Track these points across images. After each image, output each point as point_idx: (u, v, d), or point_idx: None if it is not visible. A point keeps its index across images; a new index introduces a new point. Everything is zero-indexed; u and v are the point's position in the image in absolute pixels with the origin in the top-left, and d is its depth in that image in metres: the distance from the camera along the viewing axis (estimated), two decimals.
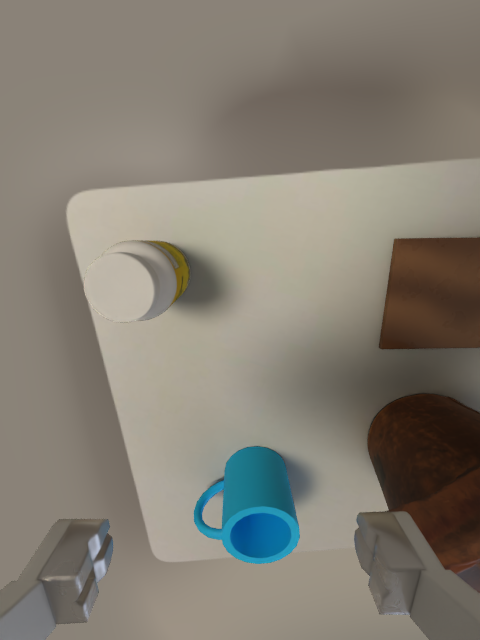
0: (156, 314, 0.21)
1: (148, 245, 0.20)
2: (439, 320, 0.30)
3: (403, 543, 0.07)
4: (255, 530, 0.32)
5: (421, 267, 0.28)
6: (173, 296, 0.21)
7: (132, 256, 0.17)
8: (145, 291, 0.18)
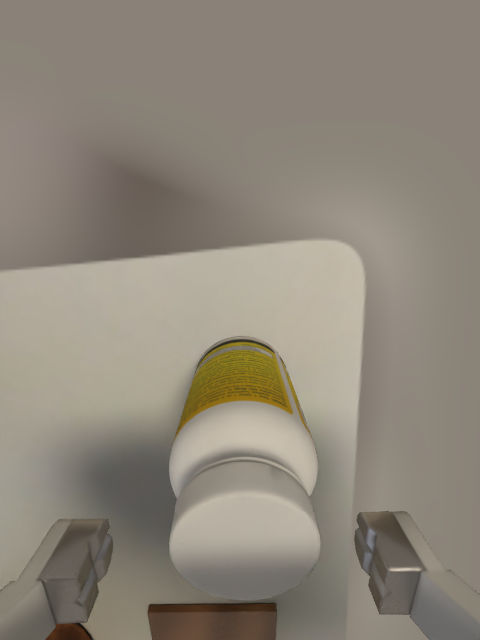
0: None
1: None
2: None
3: (403, 543, 0.07)
4: None
5: (245, 632, 0.26)
6: None
7: None
8: (240, 589, 0.09)
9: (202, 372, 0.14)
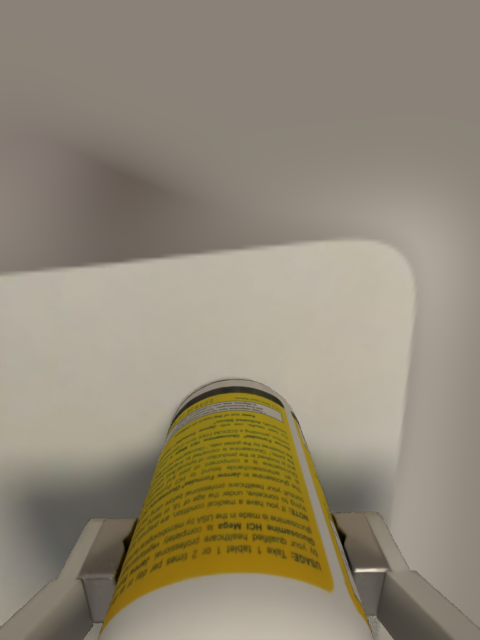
0: None
1: None
2: None
3: (371, 544, 0.07)
4: None
5: None
6: None
7: None
8: None
9: (171, 452, 0.09)
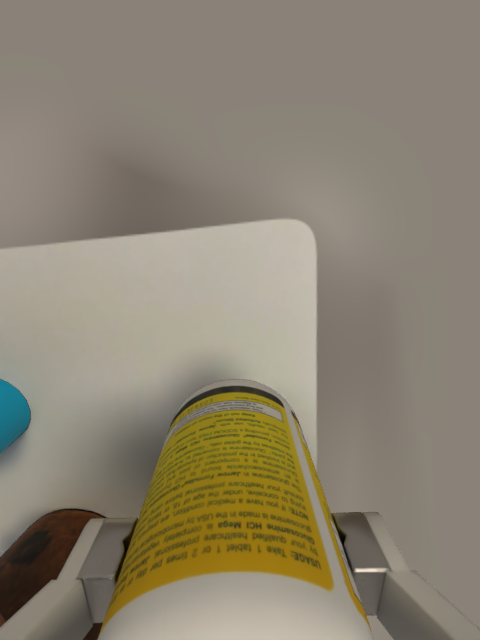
0: None
1: None
2: None
3: (371, 544, 0.07)
4: None
5: None
6: None
7: None
8: None
9: (171, 452, 0.09)
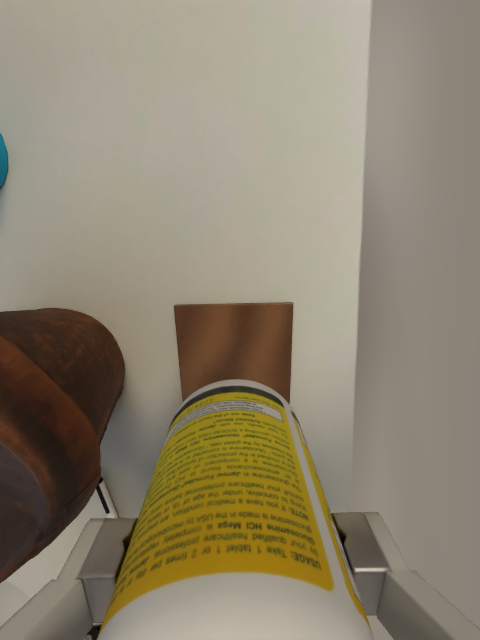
0: None
1: None
2: (209, 359, 0.29)
3: (371, 544, 0.07)
4: None
5: (264, 331, 0.28)
6: None
7: None
8: None
9: (171, 452, 0.09)
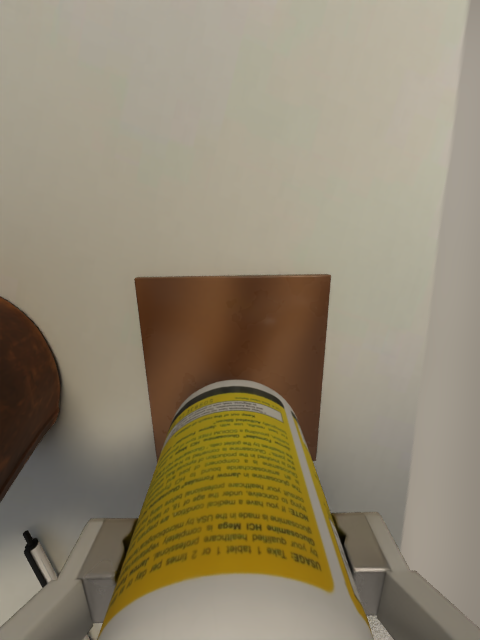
0: None
1: None
2: (194, 367, 0.18)
3: (371, 544, 0.07)
4: None
5: (282, 322, 0.17)
6: None
7: None
8: None
9: (171, 452, 0.09)
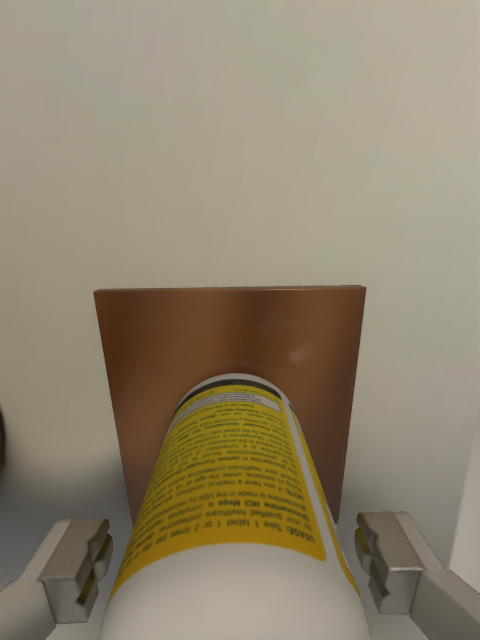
0: None
1: None
2: None
3: (403, 543, 0.07)
4: None
5: (298, 350, 0.13)
6: None
7: None
8: None
9: (173, 440, 0.09)
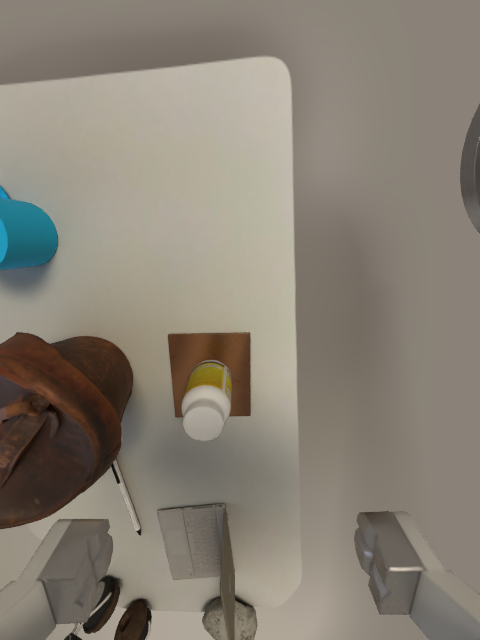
0: None
1: None
2: None
3: (403, 543, 0.07)
4: None
5: (230, 352, 0.40)
6: None
7: (221, 430, 0.31)
8: (202, 437, 0.31)
9: (193, 376, 0.37)
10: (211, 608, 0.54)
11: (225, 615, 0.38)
